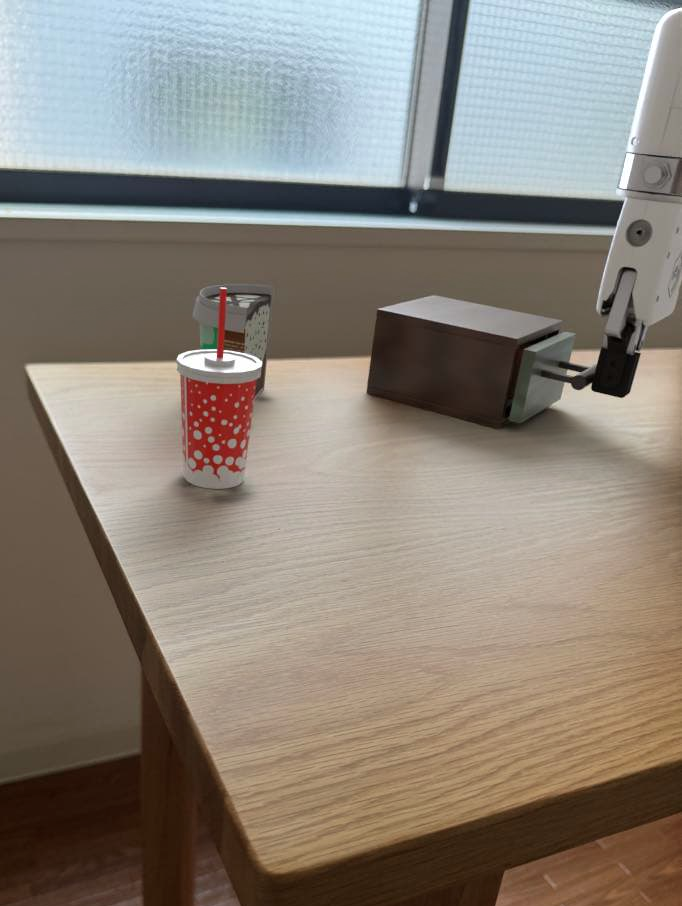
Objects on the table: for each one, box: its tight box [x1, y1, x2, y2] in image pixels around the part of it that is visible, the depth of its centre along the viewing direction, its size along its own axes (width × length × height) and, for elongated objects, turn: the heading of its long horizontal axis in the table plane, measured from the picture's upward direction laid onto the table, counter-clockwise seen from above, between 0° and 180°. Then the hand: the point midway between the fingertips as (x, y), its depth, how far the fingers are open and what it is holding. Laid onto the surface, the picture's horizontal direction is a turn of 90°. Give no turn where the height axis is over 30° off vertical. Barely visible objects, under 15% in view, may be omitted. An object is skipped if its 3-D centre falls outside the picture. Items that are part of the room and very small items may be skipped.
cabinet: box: [366, 294, 564, 430], centre depth 87 cm, size 15×13×9 cm
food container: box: [192, 283, 275, 402], centre depth 80 cm, size 12×6×10 cm, turn 168°
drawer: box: [506, 331, 597, 424], centre depth 85 cm, size 18×11×7 cm, turn 54°
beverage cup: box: [176, 288, 262, 490], centre depth 61 cm, size 6×6×14 cm
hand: (609, 392), depth 79 cm, fingers closed
